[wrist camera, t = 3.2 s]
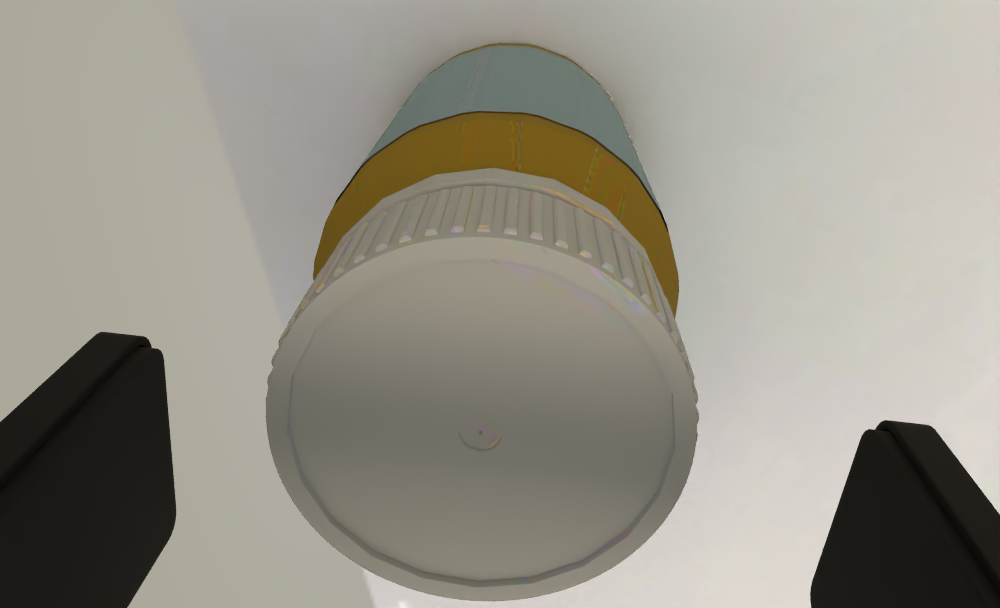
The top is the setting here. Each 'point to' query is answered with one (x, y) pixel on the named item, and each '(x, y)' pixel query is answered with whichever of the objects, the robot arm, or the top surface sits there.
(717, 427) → the top surface
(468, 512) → the bottle
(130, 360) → the robot arm
